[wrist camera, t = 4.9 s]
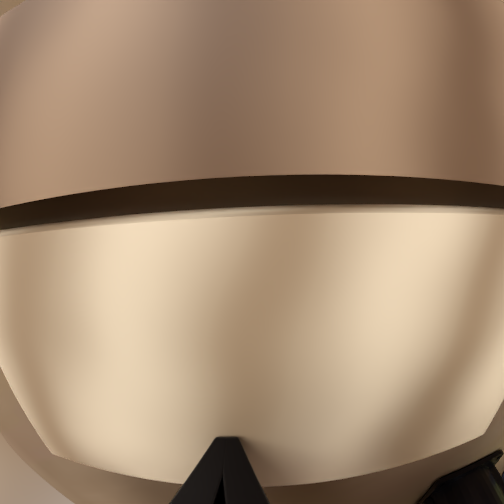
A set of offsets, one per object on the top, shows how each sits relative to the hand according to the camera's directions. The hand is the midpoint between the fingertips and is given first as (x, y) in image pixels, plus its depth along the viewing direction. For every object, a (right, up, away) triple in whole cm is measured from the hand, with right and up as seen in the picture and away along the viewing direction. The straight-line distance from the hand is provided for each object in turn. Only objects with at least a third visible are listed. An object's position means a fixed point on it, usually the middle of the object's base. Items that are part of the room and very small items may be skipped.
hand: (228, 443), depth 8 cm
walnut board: (+1, +11, -1) cm, 11 cm away
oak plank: (+1, +2, +1) cm, 3 cm away
